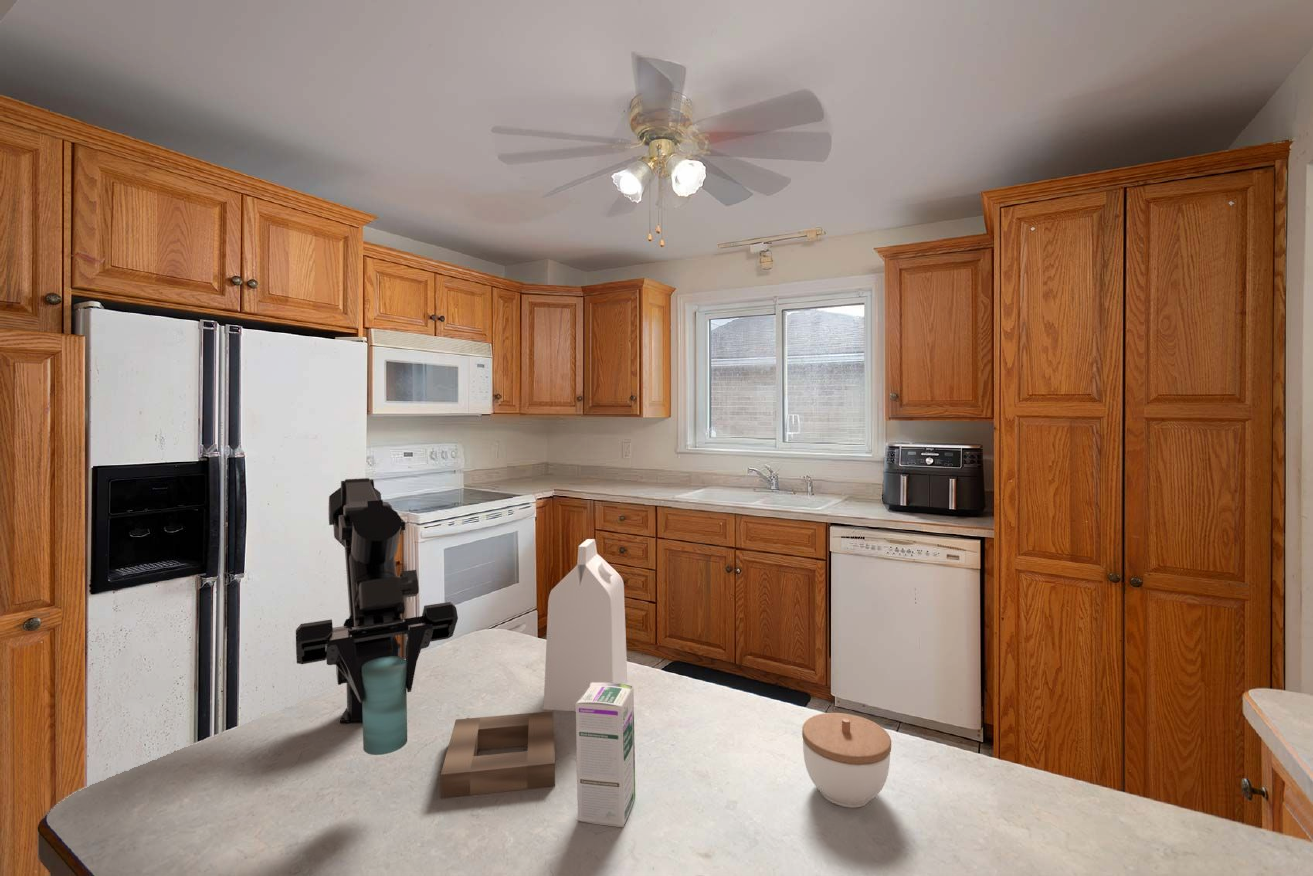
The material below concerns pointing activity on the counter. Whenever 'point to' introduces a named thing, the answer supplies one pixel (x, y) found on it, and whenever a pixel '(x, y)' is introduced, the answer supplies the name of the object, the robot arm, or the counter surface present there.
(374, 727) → the teal peg
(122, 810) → the counter surface
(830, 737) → the lidded jar
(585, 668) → the milk
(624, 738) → the syrup box
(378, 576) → the robot arm
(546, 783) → the walnut socket block
